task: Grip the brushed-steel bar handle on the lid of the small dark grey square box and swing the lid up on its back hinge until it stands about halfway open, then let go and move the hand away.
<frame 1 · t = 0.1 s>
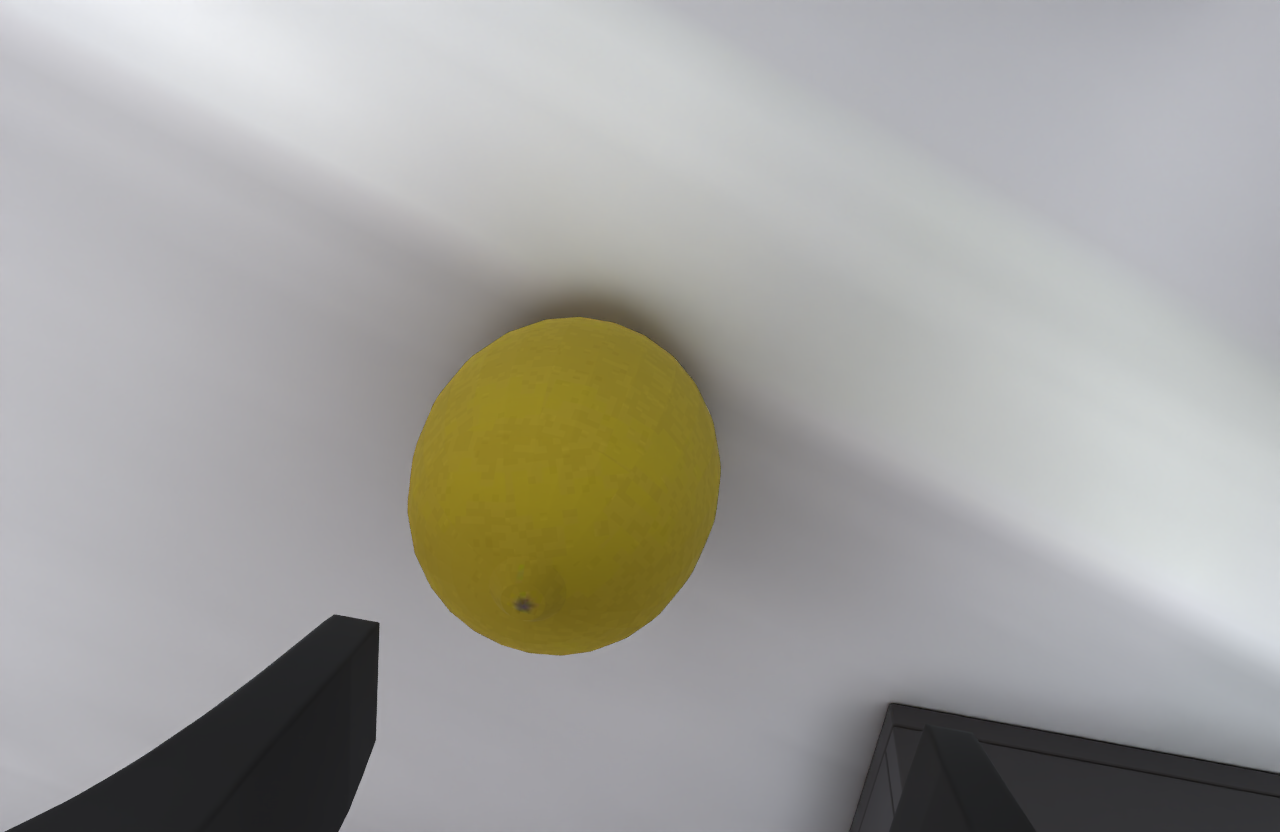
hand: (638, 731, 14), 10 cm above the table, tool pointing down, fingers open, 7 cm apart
lemon: (602, 384, 23), on the table
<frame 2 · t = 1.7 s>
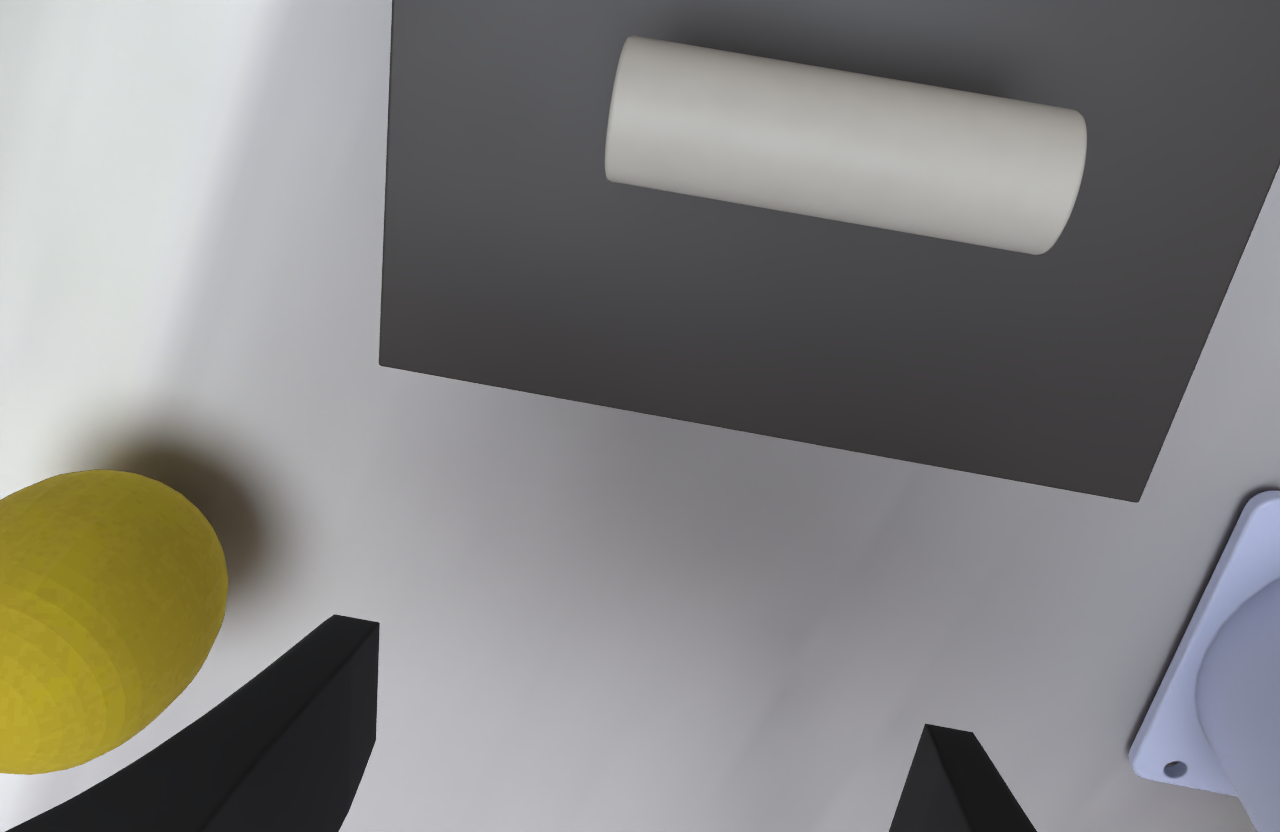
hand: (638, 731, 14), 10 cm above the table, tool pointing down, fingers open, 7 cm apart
lemon: (178, 509, 26), on the table
dark grey box lid: (851, 32, 12), point 7 cm above the table, hinge at 0.0°
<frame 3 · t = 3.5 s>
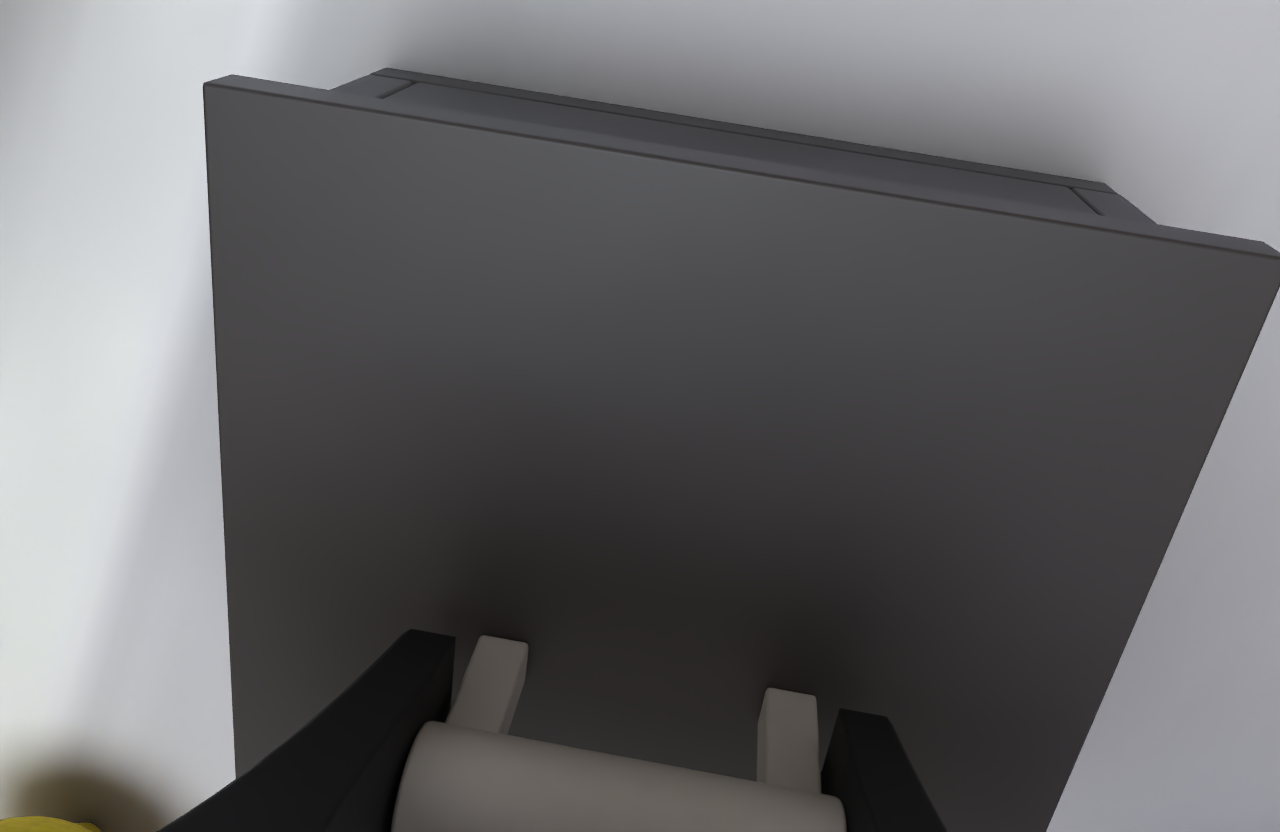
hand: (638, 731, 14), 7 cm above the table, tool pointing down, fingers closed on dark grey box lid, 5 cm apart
lemon: (96, 822, 27), on the table
dark grey box lid: (644, 685, 13), point 7 cm above the table, hinge at 0.0°, touching gripper
dark grey square box: (685, 435, 20), on the table
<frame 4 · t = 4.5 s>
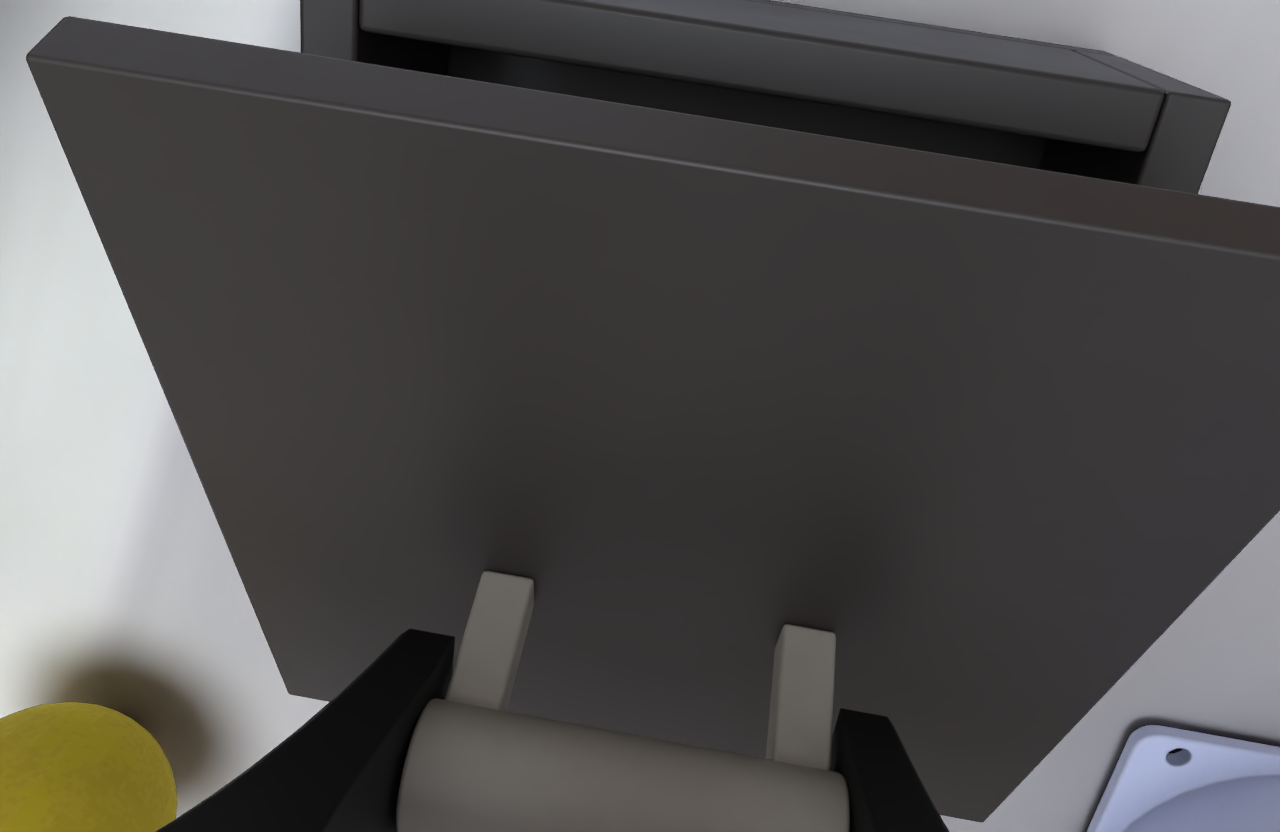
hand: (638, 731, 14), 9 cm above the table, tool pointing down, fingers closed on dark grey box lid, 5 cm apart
lemon: (133, 717, 27), on the table
dark grey box lid: (647, 666, 12), point 10 cm above the table, hinge at 23.9°, touching gripper
dark grey square box: (706, 311, 21), on the table
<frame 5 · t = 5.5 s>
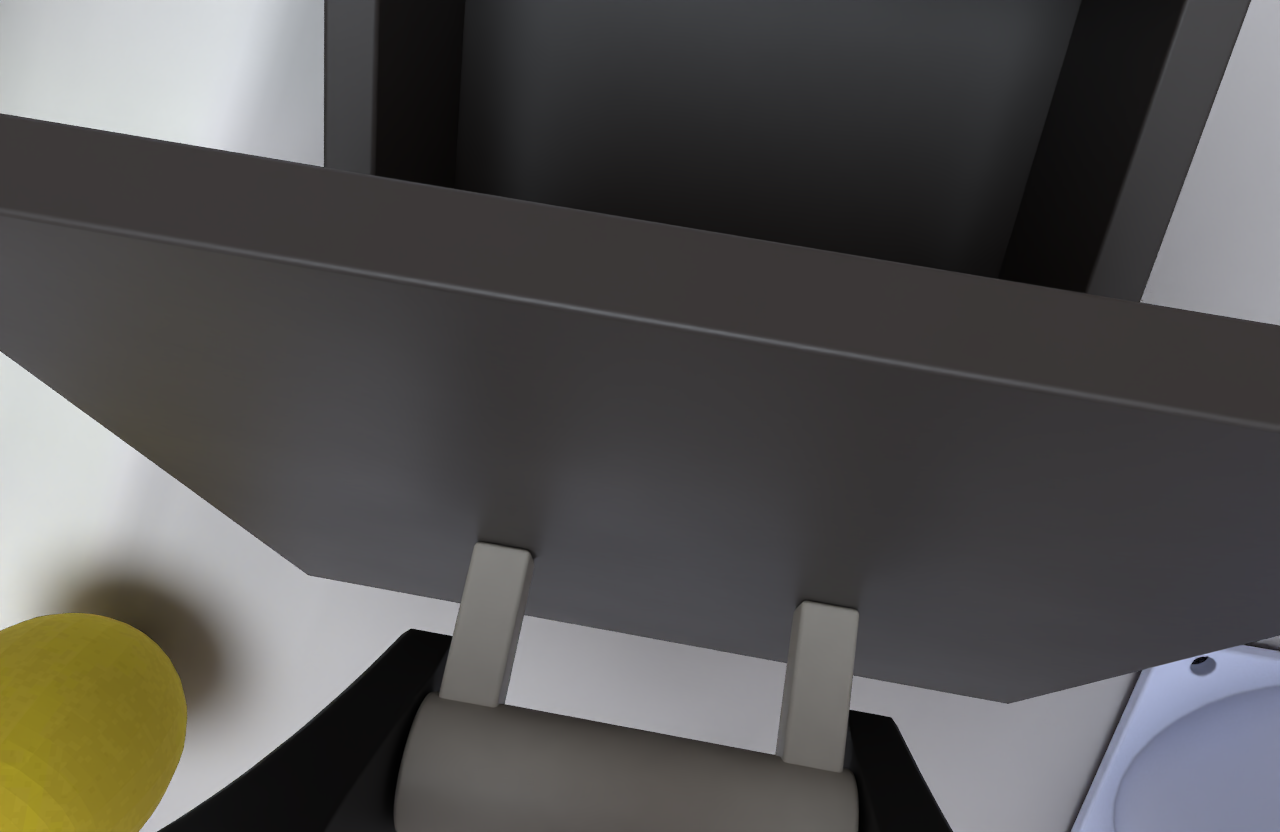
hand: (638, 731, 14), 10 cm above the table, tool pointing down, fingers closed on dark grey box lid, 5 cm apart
lemon: (142, 636, 27), on the table
dark grey box lid: (648, 680, 11), point 11 cm above the table, hinge at 43.8°, touching gripper
dark grey square box: (728, 199, 20), on the table
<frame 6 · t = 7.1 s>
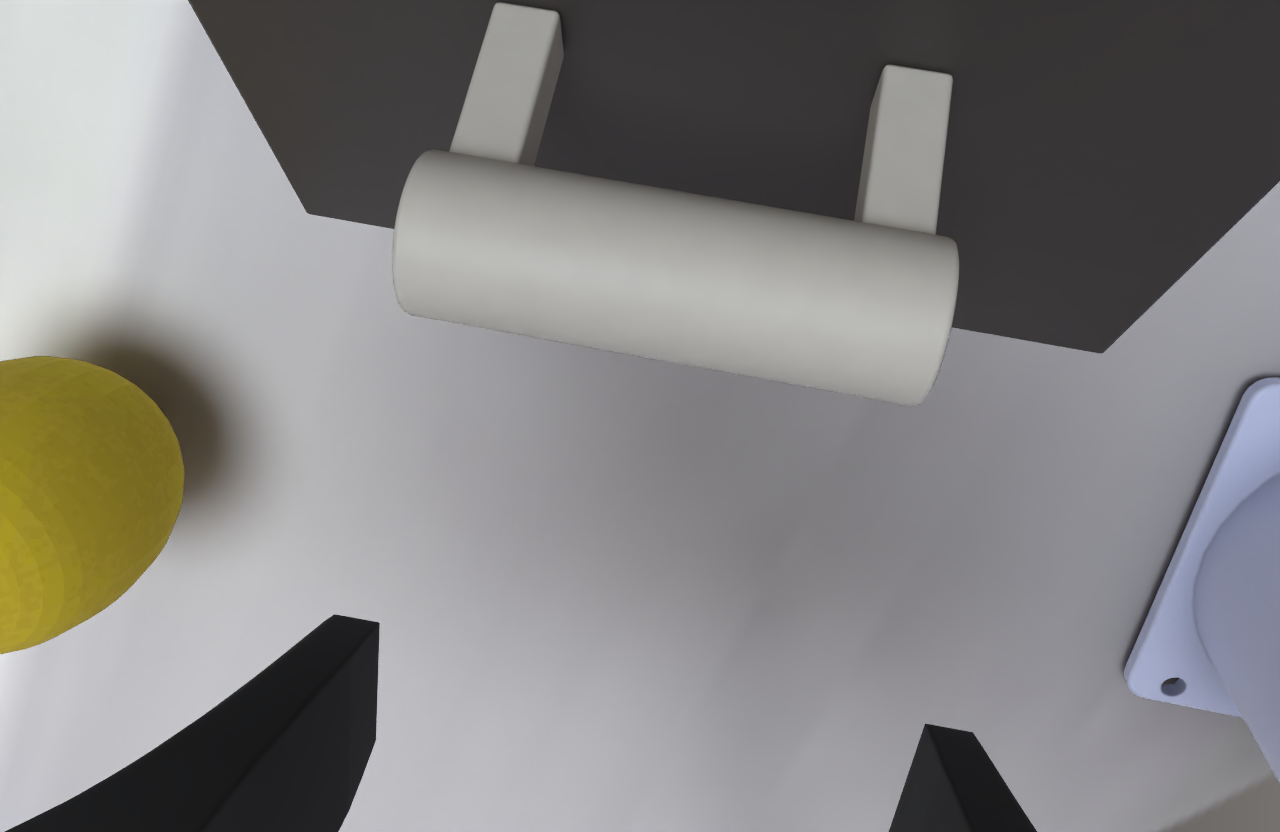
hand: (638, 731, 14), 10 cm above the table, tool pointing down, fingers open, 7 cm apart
lemon: (140, 412, 25), on the table
dark grey box lid: (702, 96, 9), point 11 cm above the table, hinge at 43.9°
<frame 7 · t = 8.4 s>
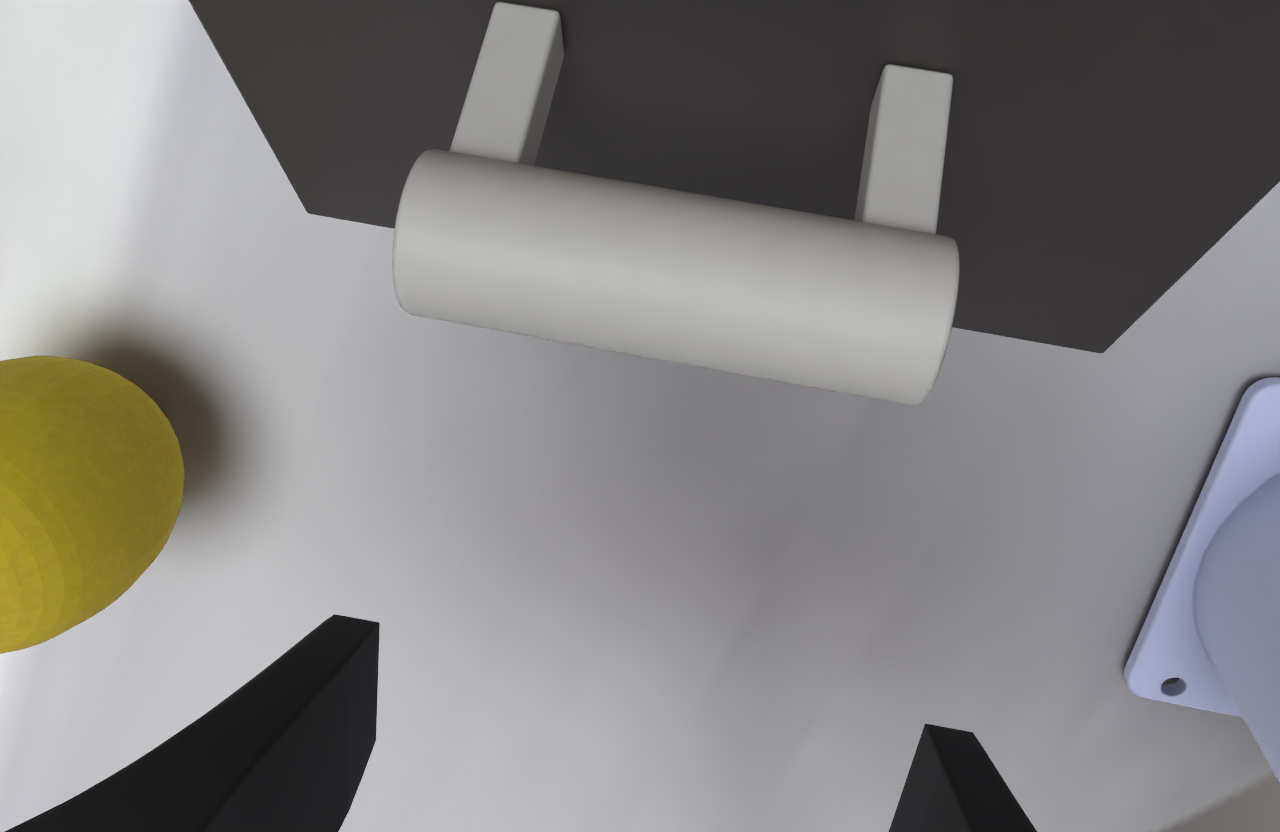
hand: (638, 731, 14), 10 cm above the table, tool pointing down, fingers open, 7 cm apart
lemon: (140, 412, 25), on the table
dark grey box lid: (702, 96, 9), point 11 cm above the table, hinge at 43.9°
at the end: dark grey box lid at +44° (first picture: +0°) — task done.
